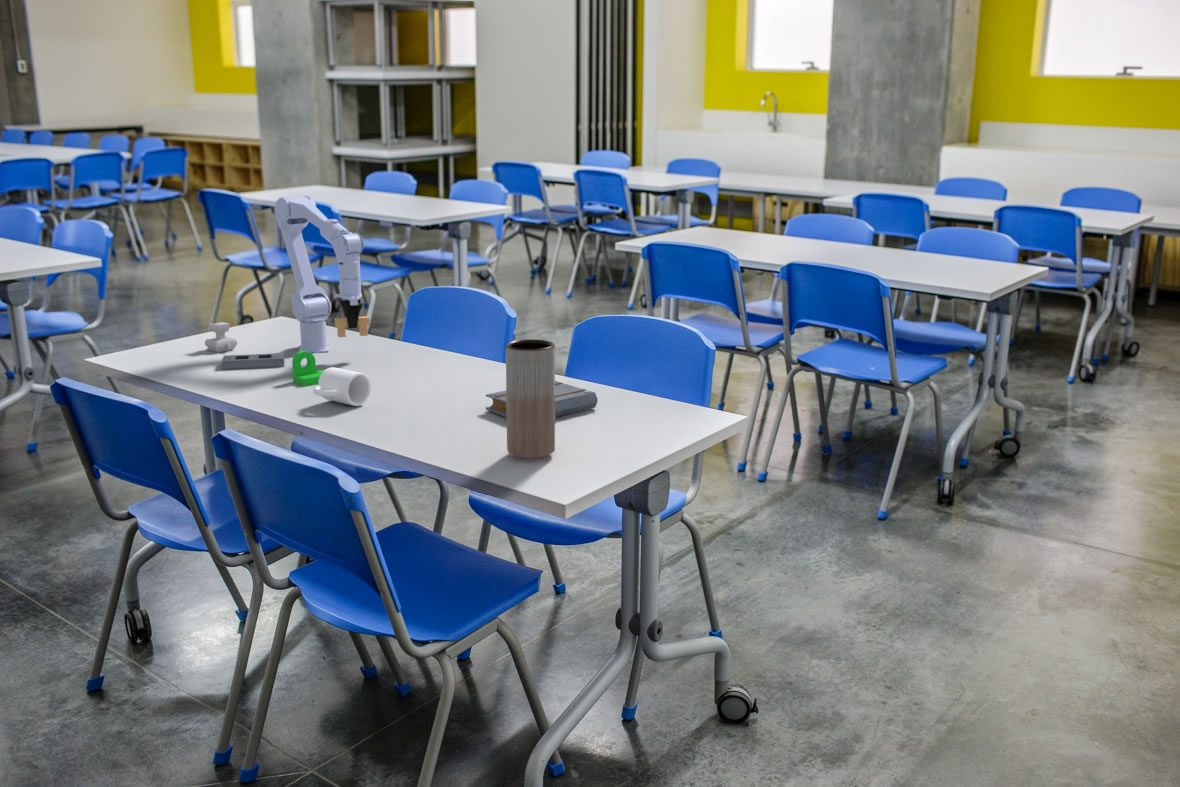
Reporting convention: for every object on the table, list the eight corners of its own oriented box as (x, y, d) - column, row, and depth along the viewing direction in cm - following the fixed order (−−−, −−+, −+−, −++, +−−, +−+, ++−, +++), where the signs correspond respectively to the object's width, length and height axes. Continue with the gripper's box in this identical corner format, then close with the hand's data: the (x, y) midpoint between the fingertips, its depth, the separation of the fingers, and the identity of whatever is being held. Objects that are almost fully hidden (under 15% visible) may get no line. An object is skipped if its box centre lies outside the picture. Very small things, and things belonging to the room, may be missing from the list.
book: (528, 426, 250) (528, 404, 249) (484, 411, 262) (484, 390, 261) (597, 410, 264) (597, 389, 263) (553, 396, 276) (553, 376, 275)
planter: (516, 441, 237) (515, 337, 231) (561, 446, 234) (561, 341, 229) (499, 455, 228) (498, 347, 222) (545, 460, 225) (545, 351, 219)
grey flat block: (224, 364, 304) (223, 355, 304) (284, 361, 308) (284, 353, 307) (222, 370, 298) (221, 361, 297) (284, 367, 301) (283, 358, 301)
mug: (343, 395, 273) (341, 364, 271) (371, 402, 268) (370, 370, 266) (305, 406, 264) (303, 373, 262) (334, 413, 258) (332, 379, 256)
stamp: (203, 351, 320) (200, 323, 318) (223, 348, 325) (221, 319, 323) (219, 356, 314) (217, 327, 312) (240, 352, 319) (238, 323, 317)
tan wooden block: (335, 335, 307) (334, 317, 306) (368, 333, 310) (367, 316, 309) (336, 337, 304) (335, 319, 303) (369, 335, 307) (368, 317, 306)
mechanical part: (304, 386, 282) (302, 356, 280) (293, 382, 287) (291, 352, 285) (346, 379, 290) (344, 349, 288) (335, 375, 294) (333, 345, 292)
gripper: (331, 274, 308) (334, 322, 312) (338, 282, 295) (340, 332, 299) (357, 273, 311) (359, 321, 314) (364, 281, 297) (366, 331, 301)
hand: (352, 326), depth 307 cm, fingers closed on tan wooden block, 3 cm apart
